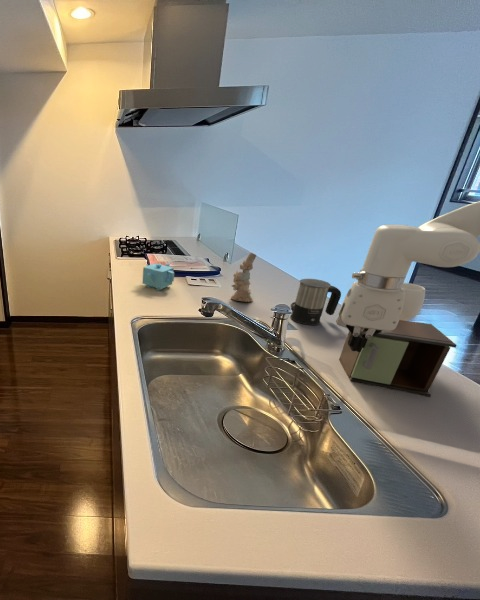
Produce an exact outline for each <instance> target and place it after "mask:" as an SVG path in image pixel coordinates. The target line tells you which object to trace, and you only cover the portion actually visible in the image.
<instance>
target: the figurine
mask: <svg viewBox="0 0 480 600" xmlns="http://www.w3.org/2000/svg"><path fill="white" fill-rule="evenodd" d="M256 257H257V254H255V253H253V252H249V254H248V255H247V257H246V258H245V259H244V260H243V261H242V263H240V264H239V269H240V270H242V271H239V270H237V271H236V272H235V273H234V274H233V280H232V282H233V284H232V285H231V287H232V289H233V291H234V293H233V294H232V295H231V296H230V299H231V300H233V301H235V302H236V301H237V302H245V303H251V302H254V299H253V297H252V296H251V289H250V285H251V284H252V283H251V282H250V280H251V272H250V271H252V270H253V269H254V265H253V263H254V262H255V259H256Z"/></svg>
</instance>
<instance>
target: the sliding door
mask: <svg viewBox="0 0 480 600" xmlns="http://www.w3.org/2000/svg"><path fill="white" fill-rule="evenodd" d="M408 344H409V342H408V341H404V340H397V339H391V338H384V337H377V336H372V337H371V338H369V339H368V340H367V342H366V345H365V347H364V348H362V350H361V352H360V353H359V356H358V359H357V361H356V364H355V366H354V369H353V372H352V374H351V377H352V378H358V379H363V380H368V381H373V382H378V383H384V384H389V385H390V384H391V382H392V379H393V377H394V375H395V373H396V370H397V368H398V366H399V364H400V362H401V359H402V357H403V355H404V353H405V350H406V348H407V346H408Z"/></svg>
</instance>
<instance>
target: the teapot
mask: <svg viewBox="0 0 480 600" xmlns="http://www.w3.org/2000/svg"><path fill="white" fill-rule="evenodd" d="M170 264H171V262H167V263H166V264H165V265H164V264H162V263H152V264H148V265H145V266H143V268H142V281H141V282H142V284H143V285H146V288H155V290H156V291H162V290H163V289H164V288H168V287H169V286H172V285H173V282H174V280H175V274H176V273H175V272H174V269H175V268H174V267H172V266H170Z"/></svg>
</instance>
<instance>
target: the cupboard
mask: <svg viewBox="0 0 480 600" xmlns="http://www.w3.org/2000/svg"><path fill="white" fill-rule="evenodd" d="M393 323H394V322H393ZM362 329H363V327H361V328H360V332H361V331H362ZM350 334H351V332H350V331H349V330H348V332H347V336H346V339H345V342H344V344H343V347H342V350H341V353H340V355H339V358H338V361H339V362H340V364H341V366H342V368H343V370H344V372H345V374H346V376H347V378H348V379H349V381H350V382H351V383H357V384H361V385H367V386H371V387H377V388H382V389H386V390H391V391H392V390H393V391H398V392H402V393H408V394H413V395H418V396H422V397H427V398H430V397H431V396H432V394H431V393H430V389H431V387H432V385H433V383H434V381H435V379H436V377H437V375H438V374H439V372H440V369H441V367H442V366H443V363H444V362H445V359H446V358H447V355H448V353H449V352H450V350H451V348H456V347H457V344H456V343H455V342H454V341H453V340H452V339H450V338H449V337H448V336H447V335H445V334H444V333H443V332H442V331H441V330H439V329H438V328H437V327H436V326H434V325H433V324H432V323H427V322H419V321H412V320H407V321H404V320H399V322H398V324H397V326H396V328H395V329H394V330H392V332H390V333H378V334H376V335H373V336H377V337H384V338H391V339H397V340H404V341H408V342H409V344H408V346H407V348H406V350H405V353H404V355H403V357H402V359H401V362H400V364H399V366H398V368H397V370H396V373H395V375H394V377H393V379H392V382H391V384H390V385H389V384H384V383H378V382H373V381H368V380H363V379H358V378H352V377H351V374H352V372H353V369H354V366H355V364H356V361H357V359H358V356H359V353H360V352H357V351H352V350H351V348H350V347H349V346H348V340H349V337H350Z"/></svg>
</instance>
